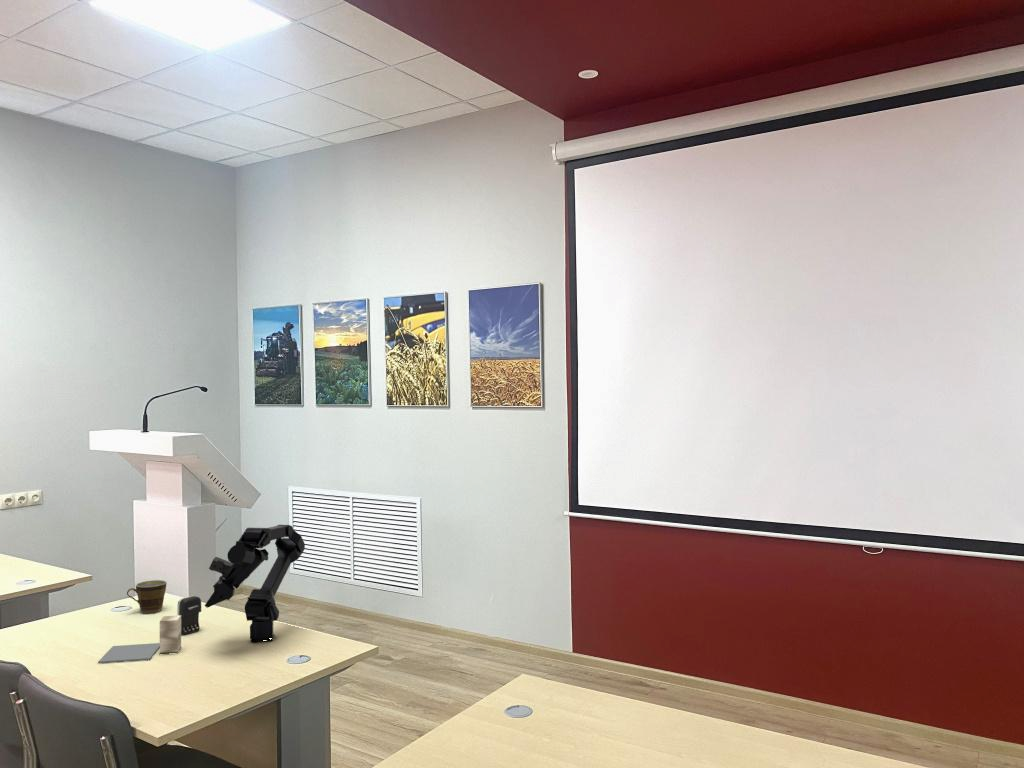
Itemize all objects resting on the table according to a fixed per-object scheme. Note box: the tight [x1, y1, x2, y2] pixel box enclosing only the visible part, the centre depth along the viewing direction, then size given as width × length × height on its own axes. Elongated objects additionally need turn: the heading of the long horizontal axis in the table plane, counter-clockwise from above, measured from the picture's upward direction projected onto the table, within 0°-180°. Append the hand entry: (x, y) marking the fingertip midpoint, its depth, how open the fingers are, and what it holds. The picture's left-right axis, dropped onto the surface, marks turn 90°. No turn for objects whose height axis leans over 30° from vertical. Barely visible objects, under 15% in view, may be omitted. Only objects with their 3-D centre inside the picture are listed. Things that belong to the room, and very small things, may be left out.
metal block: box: [159, 614, 182, 655], centre depth 230 cm, size 5×5×10 cm
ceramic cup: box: [126, 579, 167, 615], centre depth 271 cm, size 13×10×10 cm
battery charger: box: [177, 595, 202, 636], centre depth 248 cm, size 7×4×11 cm, turn 147°
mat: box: [97, 642, 160, 664], centre depth 227 cm, size 14×14×1 cm
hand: (207, 604), depth 232 cm, fingers open, 6 cm apart
